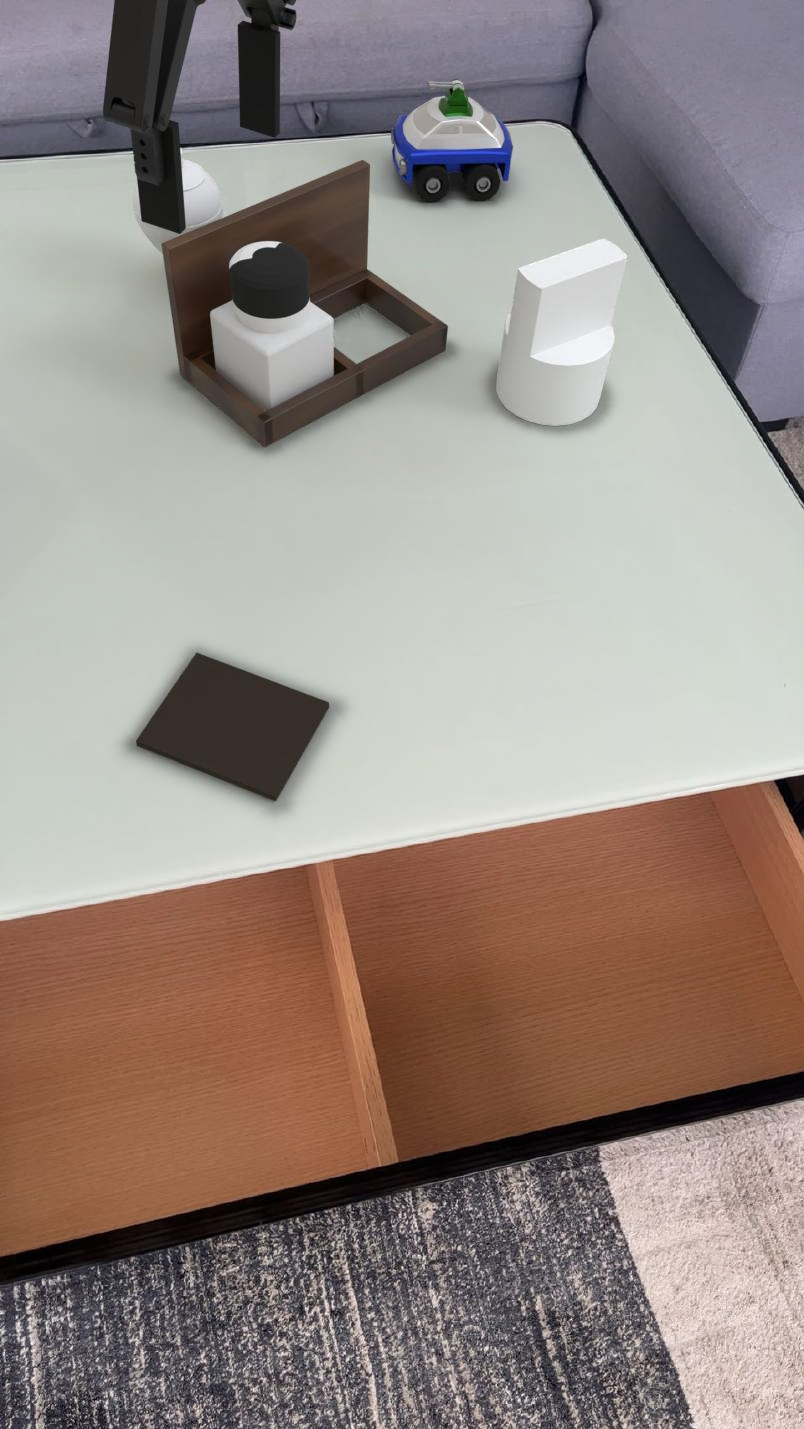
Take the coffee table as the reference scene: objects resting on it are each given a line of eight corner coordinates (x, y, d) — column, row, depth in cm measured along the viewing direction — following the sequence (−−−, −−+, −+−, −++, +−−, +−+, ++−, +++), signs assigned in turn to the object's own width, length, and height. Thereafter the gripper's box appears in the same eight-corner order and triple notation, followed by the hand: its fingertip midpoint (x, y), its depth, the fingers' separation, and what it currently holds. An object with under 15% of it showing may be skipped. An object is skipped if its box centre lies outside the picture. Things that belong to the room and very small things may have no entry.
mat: (136, 745, 69) (135, 740, 68) (197, 657, 73) (196, 652, 73) (275, 801, 67) (275, 796, 66) (329, 707, 71) (329, 702, 71)
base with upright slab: (538, 439, 88) (564, 311, 78) (474, 378, 92) (491, 249, 82) (621, 403, 91) (656, 276, 81) (556, 346, 95) (582, 218, 85)
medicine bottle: (335, 390, 90) (335, 260, 80) (270, 427, 87) (262, 297, 77) (280, 350, 92) (274, 219, 83) (215, 384, 89) (201, 253, 80)
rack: (445, 350, 94) (459, 221, 84) (264, 447, 85) (255, 317, 76) (359, 288, 98) (362, 159, 88) (179, 375, 90) (160, 243, 80)
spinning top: (232, 257, 100) (220, 127, 90) (227, 307, 96) (214, 176, 86) (149, 255, 99) (129, 124, 90) (141, 304, 95) (118, 172, 85)
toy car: (385, 156, 112) (389, 59, 104) (497, 153, 113) (509, 58, 106) (398, 204, 107) (403, 106, 99) (514, 201, 108) (528, 104, 100)
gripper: (135, -151, 45) (173, 290, 63) (362, -280, 59) (341, 110, 77) (-17, -194, 46) (61, 252, 64) (241, -311, 60) (247, 81, 78)
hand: (214, 175), depth 70 cm, fingers open, 13 cm apart
